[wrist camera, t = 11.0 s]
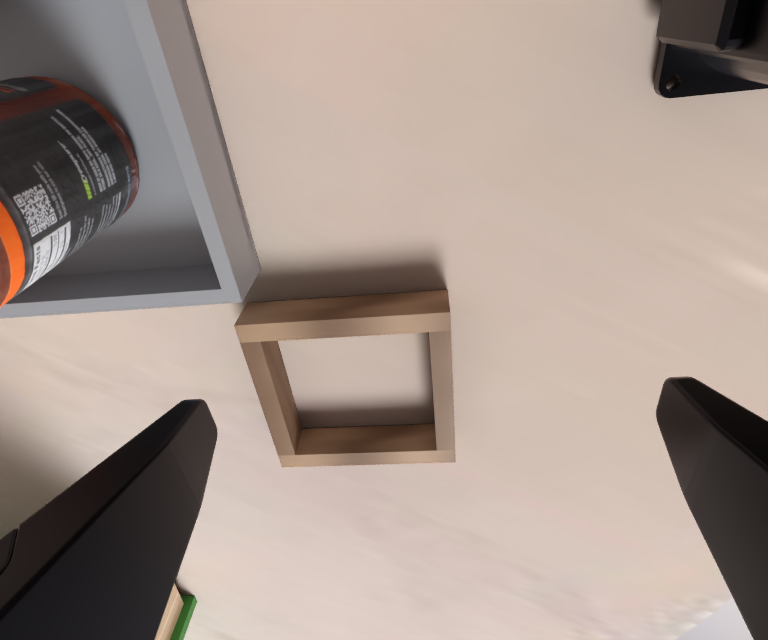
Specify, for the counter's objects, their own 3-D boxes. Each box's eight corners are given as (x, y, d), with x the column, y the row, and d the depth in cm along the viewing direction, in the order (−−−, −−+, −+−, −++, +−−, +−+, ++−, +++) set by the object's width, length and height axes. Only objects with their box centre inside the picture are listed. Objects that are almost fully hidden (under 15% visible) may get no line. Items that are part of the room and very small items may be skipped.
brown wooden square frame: (447, 289, 23) (450, 312, 21) (453, 435, 28) (455, 462, 27) (246, 303, 24) (234, 325, 22) (289, 441, 29) (282, 467, 28)
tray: (169, -59, 16) (123, -70, 14) (261, 269, 23) (242, 302, 20) (-155, -10, 17) (-251, -12, 15) (23, 287, 24) (-22, 319, 22)
